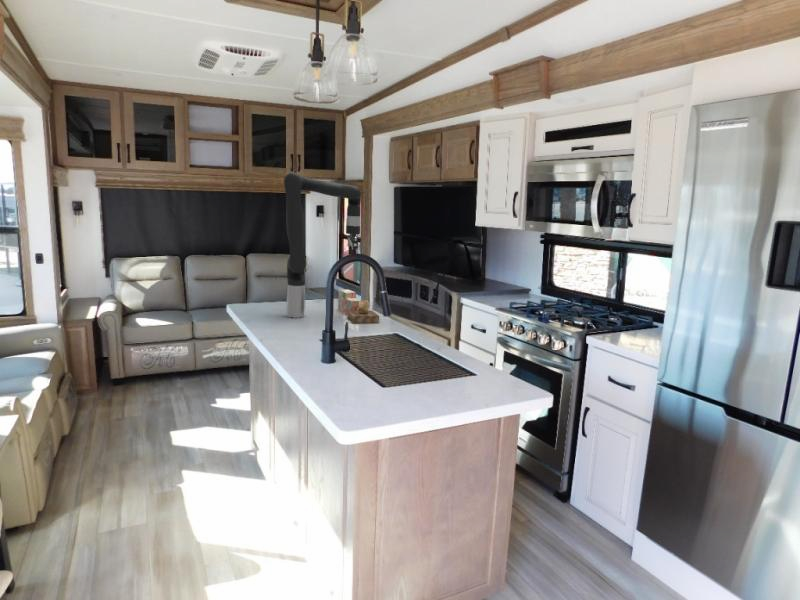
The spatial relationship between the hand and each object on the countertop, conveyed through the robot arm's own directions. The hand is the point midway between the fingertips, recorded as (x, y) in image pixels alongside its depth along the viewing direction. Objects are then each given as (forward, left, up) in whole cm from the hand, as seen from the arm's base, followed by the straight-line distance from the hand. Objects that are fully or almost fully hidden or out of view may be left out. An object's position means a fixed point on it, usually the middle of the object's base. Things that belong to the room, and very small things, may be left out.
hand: (352, 255), depth 289 cm
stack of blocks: (+3, +14, -34) cm, 38 cm away
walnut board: (+6, -5, -34) cm, 35 cm away
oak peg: (+6, -5, -34) cm, 34 cm away
